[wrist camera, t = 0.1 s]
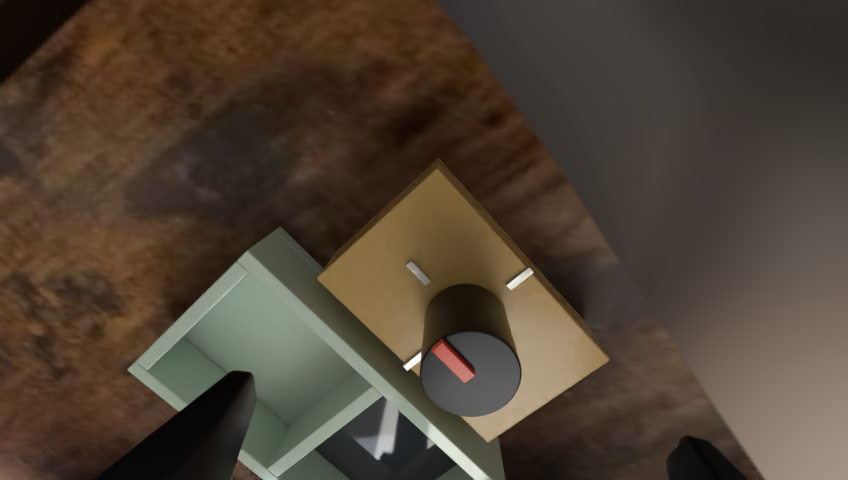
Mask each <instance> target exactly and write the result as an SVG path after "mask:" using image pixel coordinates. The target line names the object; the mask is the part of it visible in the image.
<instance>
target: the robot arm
mask: <svg viewBox="0 0 848 480" xmlns="http://www.w3.org/2000/svg"><path fill="white" fill-rule="evenodd" d="M256 402H257V395H256V388H255V381H254V376H253V374H252V373H251V372H247V371H240V370H233V371H231V372H229V373H227V374H226V375H225V376H224V377H222V378H221V379H220V380H219V381H217V382H216V383H215V384H214V385H212V386H211V387H210V388H209V389H207V390H206V391H205V392H203V393H202V394H201V395H200V396H198V397H197V398H196V399H195V400H193V401H192V402H191V403H190V404H188V405H187V406H186V407H185V408H183V409H182V410H181V411H179V412H178V413H177V414H176V415H174V416H173V417H172V418H171V419H169V420H168V421H167V422H166V423H164V424H163V425H162V426H161V427H159V428H158V429H157V430H155V431H154V432H153V433H152V434H150V435H149V436H148V437H147V438H145V439H144V440H143V441H142V442H140V443H139V444H138V445H137V446H135V447H134V448H133V449H131V450H130V451H129V452H128V453H126V454H125V455H124V456H123V457H121V458H120V459H119V460H118V461H116V462H115V463H114V464H113V465H111V466H110V467H109V468H107V469H106V470H105V471H104V472H102V473H101V474H100V475H99V476H97V477H96V478H95V479H94V480H230V478H231V475H232V472H233V469H234V467H235V464H236V461H237V458H238V455H239V452H240V450H241V447H242V444H243V441H244V438H245V436H246V433H247V430H248V427H249V424H250V421H251V419H252V416H253V413H254V410H255V407H256ZM667 472H668V476H669V480H750V479H749V478H748V477H747V476H746V475H744V474H743V473H742V472H741V471H740V470H739V469H738V468H737V467H736V466H735V465H734V464H733V463H732V462H731V461H730V460H729V459H728V458H727V457H726V456H725V455H724V454H723V453H722V452H721V451H720V450H719V449H718V448H717V447H716V446H715V445H714V444H713V443H712V442H711V441H709V440H708V439H706V438H703V437H698V436H691V435H686V436H683V437H682V438H681V439H680V441H679V442H678V443H677V445H676V446H675V447H674V449H673V450H672V451H671V453H670V454H669V456H668V458H667Z"/></svg>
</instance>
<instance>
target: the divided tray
mask: <svg viewBox="0 0 848 480" xmlns="http://www.w3.org/2000/svg"><path fill="white" fill-rule="evenodd" d="M322 270H323V267H322V266H321V265H320V264H319V263H318V262H317V261H316V260H314V259H313V258H312V257H311V256H310V255H309V254H308V253H307V252H306V251H305V250H304V249H303V248H302V247H301V246H300V245H299V244H298V243H297V242H296V241H295V240H294V239H293V238H292V237H291V236H290V235H289V234H288V233H287V232H286V231H285V230H284V229H282V228H281V227H279V228H277V229H276V230H275V231H273V232H272V233H270V234H269V235H268V236H266V237H265V238H263V239H262V240H261V241H259V242H258V243H256V244H255V245H254V246H252V247H251V248H250V249H248V250H247V251H246V252H245V253H244V254H243V255H242V256H241V257H240V258H239V259H238V260H237V261H236V262H235V263H234V264H233V265H232V266H231V267H230V268H229V269H228V270H227V271H226V272H225V273H224V274H223V275H222V276H221V277H220V278H219V279H218V280H216V281H215V282H214V283H213V284H212V285H211V286H210V287H209V288H208V289H207V290H206V291H205V292H204V293H203V294H202V295H201V296H200V297H199V298H198V299H197V300H196V301H195V302H194V303H193V304H192V305H191V306H190V307H189V308H188V309H187V310H186V311H185V312H184V313H183V314H182V315H181V316H180V317H179V318H178V319H177V320H176V321H175V322H174V323H173V324H172V325H171V326H170V327H169V328H168V329H167V330H166V331H165V332H164V333H163V334H162V335H161V336H160V337H159V338H158V339H157V340H156V341H155V342H154V343H153V344H152V345H151V346H150V347H149V348H148V349H147V350H146V351H145V352H144V353H143V354H142V355H141V356H140V357H139V358H138V359H137V360H136V361H135V362H134V363H133V364H132V365H131V366H130V367H129V368H128V369H127V370H128V371H129V372H130V373H131V374H133V375H134V376H135V377H136V378H137V379H139V380H140V381H141V382H142V383H144V384H145V385H146V386H147V387H149V388H150V389H151V390H152V391H154V392H155V393H156V394H157V395H159V396H160V397H161V398H162V399H163V400H165V401H166V402H167V403H168V404H170V405H171V406H172V407H173V408H175V409H176V410H177V411H178V412H179V411H181V410H182V409H183V408H185V407H186V406H187V405H188V404H190V403H191V402H192V401H193V400H195V399H196V398H197V397H198V396H200V395H201V394H202V393H203V392H205V391H206V390H207V389H209V388H210V387H211V386H212V385H214V384H215V383H216V382H217V381H219V380H220V379H221V378H222V377H224V376H225V375H226V374H227V373H229V372H231V371H233V370H240V371H247V372H251V373H252V374H253V376H254V381H255V388H256V395H257V402H256V407H255V410H254V413H253V416H252V419H251V421H250V424H249V427H248V430H247V433H246V436H245V438H244V441H243V444H242V447H241V450H240V452H239V455H238V458H237V459H238V460H239V461H240V462H242V463H243V464H244V465H245V466H247V467H248V468H249V469H250V470H252V471H253V472H254V473H255V474H256V475H258V476H259V477H260V478H261V479H263V480H505V474H504V468H503V462H502V456H501V450H500V443H499V438H498V437H496V438H494V439H493V440H491V441H490V442H487V441H486V440H485V439H484V438H482V437H481V436H480V435H479V434H478V433H477V432H476V431H475V430H474V429H473V428H472V427H471V426H470V425H469V424H468V423H467V422H466V421H465V420H464V419H463V418H462V417H461V416H458V415H454V414H451V413H448V412H446V411H444V410H442V409H441V408H439V407H438V406H436V405H435V404H434V403H433V402H432V401H431V400H430V399H429V397H428V396H427V395H426V393H425V391H424V389H423V387H422V384H421V381H420V377H419V376H418V375H417V374H416V373H415V372H414V371H413V370H411V369H409V370H408V371H407V370H406V369H405V368H404V367H403V364H404V362H403V361H402V360H401V359H400V358H399V357H398V356H397V355H396V354H395V353H394V352H393V351H392V350H391V349H390V348H389V347H387V346H386V345H385V344H384V343H383V342H382V341H381V340H380V339H379V338H378V337H377V336H376V335H375V334H374V333H373V332H372V331H371V330H370V329H369V328H368V327H367V326H366V325H365V324H363V323H362V322H361V321H360V320H359V319H358V318H357V317H356V316H355V315H354V314H353V313H352V312H351V311H350V310H349V309H348V308H347V307H346V306H345V305H344V304H343V303H342V302H341V301H339V300H338V299H337V298H336V297H335V296H334V295H333V294H332V293H331V292H330V291H329V290H328V289H327V288H326V287H325V286H324V285H323V284H322V283H321V282H320V281H319V280H318V279H317V276H318V275H319V274H320V272H321V271H322Z"/></svg>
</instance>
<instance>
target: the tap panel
mask: <svg viewBox="0 0 848 480" xmlns="http://www.w3.org/2000/svg"><path fill="white" fill-rule="evenodd" d="M317 279H318V280H319V281H320V282H321V283H322V284H323V285H324V286H325V287H326V288H327V289H328V290H329V291H330V292H331V293H332V294H333V295H334V296H335V297H336V298H337V299H338V300H339V301H341V302H342V303H343V304H344V305H345V306H346V307H347V308H348V309H349V310H350V311H351V312H352V313H353V314H354V315H355V316H356V317H357V318H358V319H359V320H360V321H361V322H362V323H363V324H365V325H366V326H367V327H368V328H369V329H370V330H371V331H372V332H373V333H374V334H375V335H376V336H377V337H378V338H379V339H380V340H381V341H382V342H383V343H384V344H385V345H386V346H387V347H389V348H390V349H391V350H392V351H393V352H394V353H395V354H396V355H397V356H398V357H399V358H400V359H401V360H402V361H403V362H404V364H403V367H404V368H405V369H406V370H407V371H408V370H409V369H411V370H413V371H414V372H415V373H416V374H417V375H418V376H419V377H420V362H421V352H422V342H423V331H424V321H425V313H426V310H427V307H428V305H429V303H430V302H431V300H432V299H433V298H434V297H435V296H436V295H437V294H438V293H439V292H441V291H442V290H444V289H446V288H448V287H450V286H453V285H458V284H474V285H478V286H481V287H484V288H486V289H487V290H489V291H491V292H492V293H493V294H494V295H496V296H497V298H498V299H499V300H500V301H501V303H502V305H503V307H504V309H505V313H506V316H507V319H508V323H509V326H510V330H511V333H512V336H513V340H514V343H515V347H516V350H517V353H518V357H519V360H520V364H521V370H522V376H521V382H520V385H519V388H518V390H517V392H516V394H515V395H514V397H513V398H512V399H511V400H510V401H509V402H508V404H506V405H505V406H504V407H502V408H501V409H499V410H498V411H495V412H493V413H491V414H488V415H484V416H479V417H463V416H461V417H462V418H463V419H464V420H465V421H466V422H467V423H468V424H469V425H470V426H471V427H472V428H473V429H474V430H475V431H476V432H477V433H478V434H479V435H480V436H481V437H482V438H484V439H485V440H486V441H487V442H490V441H491V440H493V439H494V438H496V437H497V436H499V435H500V434H502V433H503V432H505V431H506V430H508V429H509V428H511V427H512V426H514V425H515V424H517V423H518V422H519V421H521V420H522V419H524V418H525V417H527V416H528V415H530V414H531V413H533V412H534V411H536V410H537V409H539V408H540V407H542V406H543V405H545V404H546V403H548V402H549V401H550V400H552V399H553V398H555V397H556V396H558V395H559V394H561V393H562V392H564V391H565V390H567V389H568V388H570V387H571V386H573V385H574V384H576V383H577V382H579V381H580V380H581V379H583V378H584V377H586V376H587V375H589V374H590V373H592V372H593V371H595V370H596V369H598V368H599V367H601V366H602V365H604V364H605V363H607V362H608V361H609V360H610V359H609V357H608V356H607V354H606V353H605V351H604V350H603V348H602V346H601V345H600V343H599V342H598V340H597V339H596V337H595V336H594V334H593V333H592V331H591V330H590V328H589V327H588V325H587V324H586V322H585V321H584V320H583V319H582V317H581V316H580V315H579V314H578V313H577V312H576V311H575V310H574V309H573V307H572V306H571V305H570V304H569V303H568V302H567V301H566V300H565V298H564V297H563V296H562V295H561V294H560V293H559V292H558V291H557V290H556V288H555V287H554V286H553V285H552V284H551V283H550V282H549V281H548V279H547V278H546V277H545V276H544V275H543V274H542V273H541V272H540V271H539V269H538V268H537V267H536V266H535V265H534V264H533V263H532V262H531V260H530V259H529V258H528V257H527V256H526V255H525V254H524V253H523V252H522V250H521V249H520V248H519V247H518V246H517V245H516V244H515V243H514V241H513V240H512V239H511V238H510V237H509V236H508V235H507V234H506V233H505V231H504V230H503V229H502V228H501V227H500V226H499V225H498V224H497V223H496V221H495V220H494V219H493V218H492V217H491V216H490V215H489V214H488V212H487V211H486V210H485V209H484V208H483V207H482V206H481V205H480V204H479V202H478V201H477V200H476V199H475V198H474V197H473V196H472V195H471V193H470V192H469V191H468V190H467V189H466V188H465V187H464V186H463V185H462V183H461V182H460V181H459V180H458V179H457V178H456V177H455V176H454V174H453V173H452V172H451V171H450V170H449V169H448V168H447V167H446V166H445V164H444V163H443V162H442V161H441V160H440V159H439V158H438V159H436V160H435V161H434V162H433V163H432V164H431V165H430V166H429V167H428V168H427V169H425V170H424V171H423V172H422V173H421V174H420V175H419V176H418V177H417V178H416V179H415V180H413V181H412V182H411V183H410V184H409V185H408V186H407V187H406V188H405V189H404V190H403V191H402V192H400V193H399V194H398V195H397V196H396V197H395V198H394V199H393V200H392V201H391V202H390V203H388V204H387V205H386V206H385V207H384V208H383V209H382V210H381V211H380V212H379V213H378V214H376V215H375V216H374V217H373V218H372V219H371V220H370V221H369V222H368V223H367V224H366V225H364V226H363V227H362V228H361V229H360V230H359V231H358V232H357V233H356V234H355V235H354V236H353V237H351V238H350V239H349V240H348V241H347V242H346V243H345V244H344V245H343V246H342V247H341V248H339V249H338V250H337V251H336V252H335V254H334V255H333V256H332V258H331V259H330V260H329V262H328V263H327V264H326V266H325V267H324V268H323V270H322V271H321V272H320V274H319V275H318V276H317Z"/></svg>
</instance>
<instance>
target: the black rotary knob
mask: <svg viewBox="0 0 848 480" xmlns="http://www.w3.org/2000/svg"><path fill="white" fill-rule="evenodd" d="M521 376H522V370H521V364H520V360H519V357H518V353H517V350H516V347H515V343H514V340H513V336H512V333H511V330H510V326H509V323H508V319H507V316H506V313H505V309H504V307H503V305H502V303H501V301H500V300H499V299H498V298H497V296H496V295H494V294H493V293H492V292H491V291H489V290H487V289H486V288H484V287H481V286H478V285H474V284H458V285H453V286H450V287H448V288H446V289H444V290H442V291H441V292H439V293H438V294H437V295H436V296H435V297H434V298H433V299H432V300H431V302H430V303H429V305H428V307H427V310H426V313H425V321H424V331H423V342H422V352H421V362H420V381H421V384H422V387H423V389H424V391H425V393H426V395H427V396H428V397H429V399H430V400H431V401H432V402H433V403H434V404H435V405H436V406H438V407H439V408H441V409H442V410H444V411H446V412H448V413H451V414H454V415H458V416H463V417H479V416H484V415H488V414H491V413H493V412H495V411H498V410H499V409H501V408H502V407H504V406H505V405H506V404H508V402H509V401H510V400H511V399H512V398H513V397H514V395H515V394H516V392H517V390H518V388H519V385H520V382H521Z"/></svg>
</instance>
